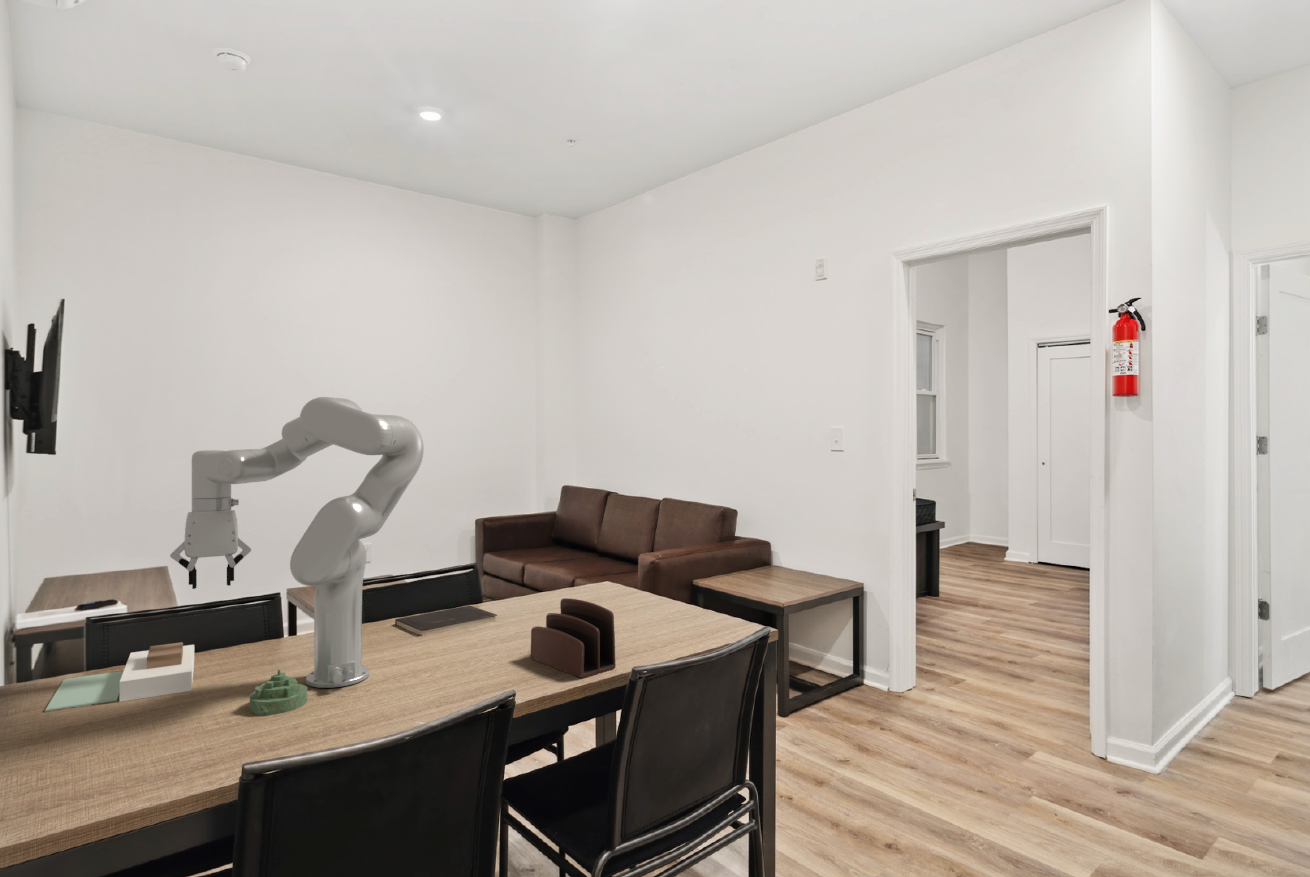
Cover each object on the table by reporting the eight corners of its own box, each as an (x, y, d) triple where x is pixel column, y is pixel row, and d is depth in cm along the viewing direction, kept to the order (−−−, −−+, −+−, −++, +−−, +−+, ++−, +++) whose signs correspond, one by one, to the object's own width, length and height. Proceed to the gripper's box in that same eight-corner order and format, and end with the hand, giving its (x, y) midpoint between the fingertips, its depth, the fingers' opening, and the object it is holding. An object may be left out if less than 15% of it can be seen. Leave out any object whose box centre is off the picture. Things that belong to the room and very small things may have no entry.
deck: (191, 690, 147) (191, 671, 147) (119, 702, 141) (119, 682, 141) (194, 661, 166) (194, 644, 166) (130, 670, 159) (130, 652, 159)
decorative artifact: (316, 696, 144) (268, 695, 145) (316, 662, 144) (268, 661, 145) (290, 716, 134) (238, 715, 135) (290, 679, 134) (238, 678, 135)
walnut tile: (181, 664, 151) (181, 652, 151) (146, 669, 148) (146, 657, 148) (182, 653, 159) (182, 642, 159) (150, 657, 156) (150, 646, 156)
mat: (116, 700, 141) (116, 698, 141) (45, 712, 135) (45, 710, 135) (127, 672, 158) (127, 670, 158) (64, 681, 152) (64, 679, 152)
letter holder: (563, 650, 176) (563, 594, 176) (616, 669, 162) (616, 608, 162) (529, 659, 169) (529, 600, 169) (582, 680, 155) (582, 615, 155)
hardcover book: (497, 622, 203) (497, 614, 203) (421, 638, 187) (421, 629, 187) (468, 612, 215) (468, 605, 215) (395, 626, 198) (395, 618, 198)
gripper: (255, 502, 166) (255, 579, 166) (165, 506, 157) (165, 587, 157) (256, 505, 159) (256, 585, 159) (163, 509, 150) (163, 594, 150)
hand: (211, 585), depth 158 cm, fingers open, 5 cm apart
